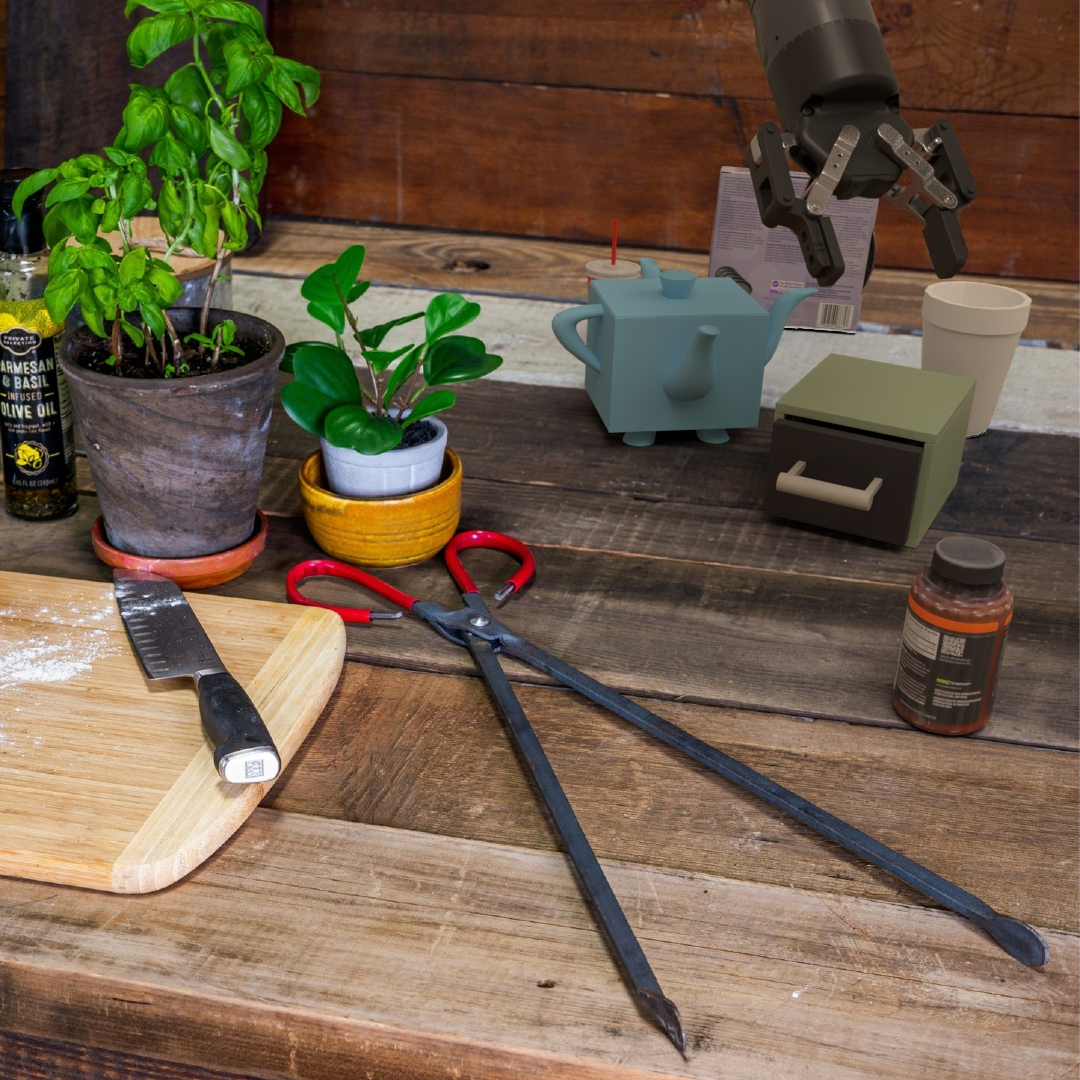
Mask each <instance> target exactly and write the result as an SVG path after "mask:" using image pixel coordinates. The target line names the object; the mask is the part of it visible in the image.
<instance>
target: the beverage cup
mask: <svg viewBox="0 0 1080 1080" xmlns="http://www.w3.org/2000/svg"><path fill="white" fill-rule="evenodd" d="M612 223H613V224H612V241H611V259H597V260H591V261H589V262H587V263H585V268H584V269H585V275H586V276H587V298H588V297H589V282H590V280H605V279H639V278H640V277H641V273H642V271H641V265H640V264H638V263H635V262H633V261H630V260H629V261H628V260H623V259H617V245H618V243H617V242H618V226H619V225H618V224H619V220H618V219H613V222H612Z"/></svg>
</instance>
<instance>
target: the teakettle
mask: <svg viewBox="0 0 1080 1080" xmlns="http://www.w3.org/2000/svg"><path fill="white" fill-rule="evenodd" d="M639 266H641V278H638V279H605V280H590V282H589V297H588V296H587V304H584V305H578V306H573V307H569V308H565V309H563V310H561V311H559V312H557V313H556V314H555V315H554V316H553V318H552V320H551V330H552V332H553V334H554V336H555V338H556V340H557V341H558V343H559V344H560V345H561V346H562V347H563V348H564V349H565V350H566V351H567V352H568V353H569V354H570V355H572V356H573V357H574V358H575V359H577V360H578V361H579V362H581V363H582V364H584V365H585V367H584V389H585V391H586V393H587V395H588V397H589V398H590V400H591V401H592V404H593V406H594V407H595V410H596V411H597V413H598V415H599V416H600V418H601V420H602V422H603V424H604V426H605V427H606V429H607V431H608V433H624V435H623V437H622V442H623V443H625V444H627V445H628V446H632V447H648V446H651V445H653V444H654V443H655V440H656V434H657V432H665V431H688V430H689V431H691V430H693V431H694V430H695V431H696V436H697V438H698V440H699V441H702V442H704V443H707V444H723V443H727V442H729V440H730V436H729V435H728V432H727V431H726V429H745V428H747V429H748V428H758V427H759V419H760V412H761V402H762V393H763V385H764V384H763V383H764V374H765V368H766V366H767V365H768V364H769V363H770V362H771V360H772V359H773V357H774V355H775V353H776V351H777V349H778V347H779V344H780V341H781V339H782V336H783V333H784V330H785V329H784V327H785V325H786V322H787V320H788V318H789V316H790V314H791V313H792V311H793V310H794V308H795V307H796V306H797V305H798V304H799V303H800V302H801V301H802V300H804V299H805V298H807V297H809V296H811V295H813V294H815V293H816V292H818V291H819V289H815V288H796V289H790V290H787V291H785V292H784V293H782V294H781V295H780V296H779V297H778V298H777V299H776V300H775V302H774V303H773V305H772V306H771V308H770V310H769V312H767V311H766V310H765V309H764V308H763V307H762V306H761V305H760V304H759V303H758V302H756V301H755V300H754V299H753V298H752V297H751V296H750V295H749V294H748V293H747V292H746V291H745V290H744V289H743V288H741V287H740V286H739V285H738V284H737V283H736V282H735V281H734V280H732V278H731V277H720V278H708V277H698V275H697V274H696V273H694V272H692V271H689V270H685V269H667V270H664V271H661V269H660V266H659V264H658V262H657V261H656V260H655V259H654V258H651V257H645V256H644V257H641V258H640V260H639ZM586 320H587V321H586ZM583 321H586V322H587V324H586V343H585V342H584V341H583V339H582V338H581V336H580V334H579V332H578V330H577V326H578V324H579V323H580V322H583Z"/></svg>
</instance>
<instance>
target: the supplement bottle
mask: <svg viewBox="0 0 1080 1080" xmlns="http://www.w3.org/2000/svg"><path fill="white" fill-rule="evenodd" d="M1006 559H1007V558H1006V555H1005V553H1004V551H1003V550H1002V549H1001V548H1000V547H998V546H997V545H996V544H993V543H991V542H989V541H987V540H984V539H981V538H978V537H973V536H964V535H963V536H960V535H958V536H957V535H955V536H950V537H949V536H948V537H945V538H942V539H940V540H939V541H937V542H936V544H935V545H934V549H933V554H932V558H931V561H930V564H931V565H930V566H929V567H927V568H925V569H923V570H921V571H920V572H919V573H918V574H917V575H916V576H915V578H914V579H913V580H912V583H911V586H910V589H909V594H908V601H907V604H906V605H907V606H906V612H905V618H904V624H903V630H902V636H901V642H900V646H899V653H898V659H897V664H896V671H895V677H894V683H893V692H892V704H893V707H894V708H895V710H896V712H897V713H898V714H899V715H900V716H901V718H902V719H904V720H905V721H906V722H908V723H909V724H911V725H912V726H913V727H916V728H919V729H920V730H921V729H922V730H924V731H927V732H928V733H929V732H930V733H934V734H938V735H947V736H959V735H968V734H971V733H975V732H977V731H979V730H980V729H982V728H984V727H985V726H986V725H987V724H988V722H989V721H990V718H991V715H992V711H993V708H994V703H995V698H996V694H997V689H998V684H999V678H1000V674H1001V671H1002V665H1003V661H1004V656H1005V652H1006V647H1007V642H1008V637H1009V633H1010V627H1011V623H1012V622H1011V621H1012V619H1013V614H1014V605H1015V599H1014V594H1013V591H1012V590H1011V588H1010V586H1009V585H1008V584H1007V583H1006V582H1005V581H1004V580H1002V579H1003V577H1004V569H1005V564H1006Z"/></svg>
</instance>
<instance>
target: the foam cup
mask: <svg viewBox="0 0 1080 1080" xmlns="http://www.w3.org/2000/svg"><path fill="white" fill-rule="evenodd" d="M1032 302H1033V299H1032V298H1031V297H1030V296H1028V295H1027V294H1026V293H1025V292H1023V291H1019V290H1017V289H1014V288H1011V287H1009V286H1003V285H999V284H994V283H993V284H992V283H988V282H979V281H978V282H977V281H968V280H967V281H966V280H955V281H941V282H937V283H931V284H929V285H928V286H927V287H926V288H925V289H924V293H923V298H922V304H921V310H920V316H921V317H922V327H921V329H922V331H921V357H920V359H921V361H920V362H921V363H920V369H923V370H929V371H934V372H940V373H945V374H951V375H956V376H962V377H967V378H973V379H977V382H976V387H975V393H974V398H973V403H972V408H971V413H970V418H969V424H968V429H967V434H966V437H967V436H971V435H972V436H973V435H979V434H981V433H982V432H983V433H984V432H986V430H987V428H988V429H989V426H990V424H991V421H992V418H993V416H994V413H995V410H996V407H997V404H998V402H999V399H1000V396H1001V394H1002V390H1003V388H1004V384H1005V382H1006V378H1007V376H1008V373H1009V370H1010V368H1011V364H1012V361H1013V359H1014V357H1015V353H1016V350H1017V348H1018V345H1019V342H1020V339H1021V336H1022V333H1023V331H1025V329H1026V327H1027V325H1028V321H1029V318H1030V317H1029V316H1030V312H1031V308H1032V307H1031V306H1032V304H1033V303H1032ZM987 431H988V430H987ZM986 433H987V432H986Z"/></svg>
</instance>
